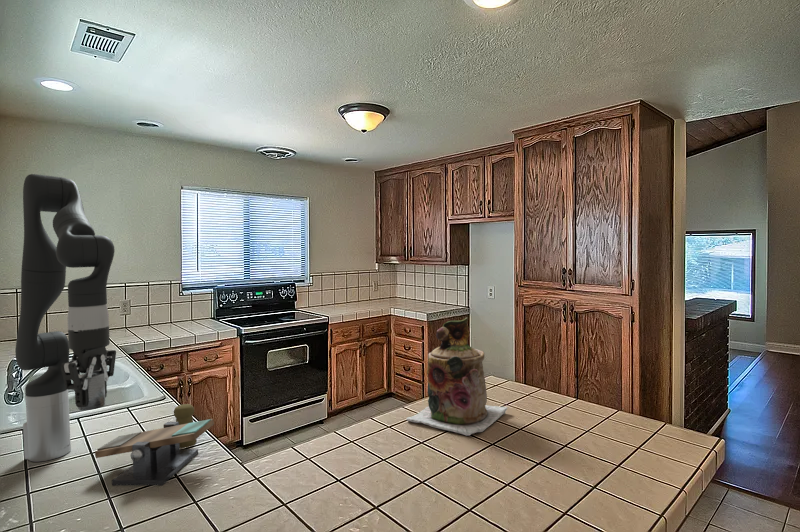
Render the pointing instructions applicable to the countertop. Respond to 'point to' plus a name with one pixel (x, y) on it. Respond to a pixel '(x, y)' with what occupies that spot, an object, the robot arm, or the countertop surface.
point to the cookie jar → (457, 385)
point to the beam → (155, 437)
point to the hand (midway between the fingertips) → (91, 402)
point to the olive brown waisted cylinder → (184, 420)
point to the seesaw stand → (154, 463)
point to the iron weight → (95, 391)
